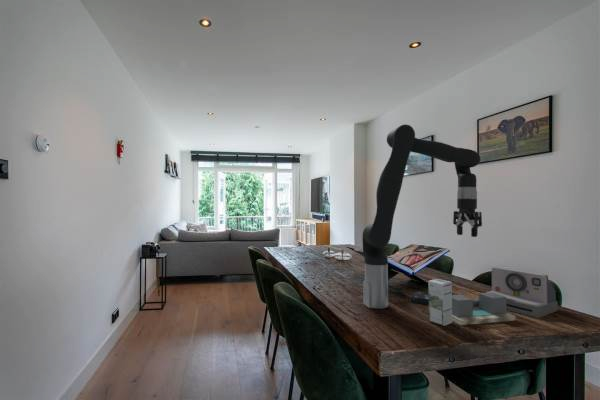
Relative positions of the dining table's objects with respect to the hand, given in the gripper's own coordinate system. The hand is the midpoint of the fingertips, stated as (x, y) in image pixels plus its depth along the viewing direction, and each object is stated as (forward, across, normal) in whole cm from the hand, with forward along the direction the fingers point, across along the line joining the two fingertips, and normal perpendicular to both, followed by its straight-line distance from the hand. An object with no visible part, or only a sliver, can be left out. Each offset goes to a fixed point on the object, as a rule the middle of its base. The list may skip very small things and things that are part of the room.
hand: (466, 235), depth 137 cm
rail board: (+28, +17, -10) cm, 35 cm away
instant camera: (+28, +12, +16) cm, 34 cm away
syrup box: (+28, +19, -26) cm, 43 cm away
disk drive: (+29, -3, -15) cm, 33 cm away
